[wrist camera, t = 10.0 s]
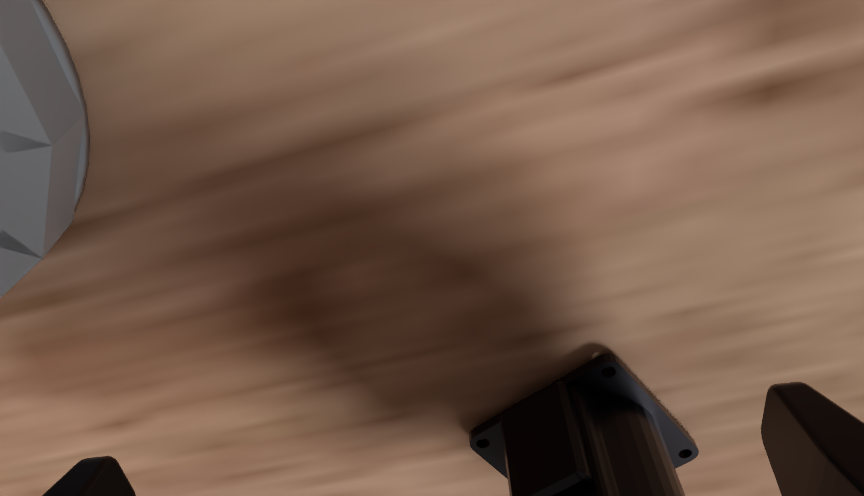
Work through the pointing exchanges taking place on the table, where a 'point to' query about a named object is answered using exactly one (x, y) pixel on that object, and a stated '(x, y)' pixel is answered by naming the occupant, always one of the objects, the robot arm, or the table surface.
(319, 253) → the table surface
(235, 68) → the table surface
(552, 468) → the robot arm
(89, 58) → the table surface
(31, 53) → the ring dish
